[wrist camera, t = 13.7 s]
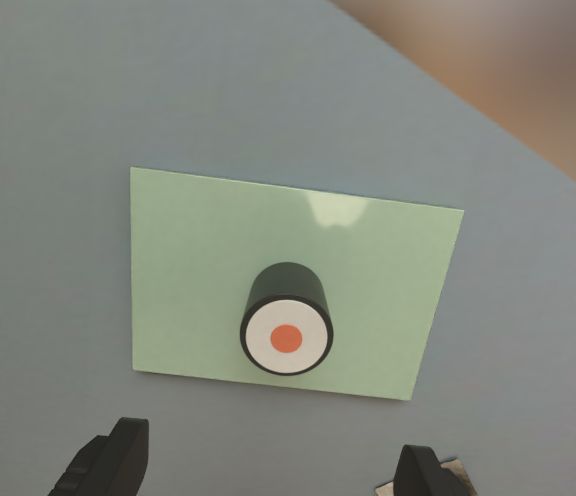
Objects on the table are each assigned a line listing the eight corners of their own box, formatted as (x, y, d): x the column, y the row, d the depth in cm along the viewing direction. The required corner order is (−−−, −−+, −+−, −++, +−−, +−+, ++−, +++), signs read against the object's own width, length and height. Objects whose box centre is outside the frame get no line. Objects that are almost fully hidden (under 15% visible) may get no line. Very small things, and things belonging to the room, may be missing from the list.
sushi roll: (247, 324, 21) (234, 374, 17) (254, 257, 20) (242, 289, 15) (317, 333, 21) (326, 384, 17) (329, 266, 20) (342, 301, 15)
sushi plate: (138, 361, 23) (131, 370, 22) (137, 166, 19) (129, 167, 18) (405, 391, 24) (410, 401, 23) (456, 208, 20) (465, 210, 19)
